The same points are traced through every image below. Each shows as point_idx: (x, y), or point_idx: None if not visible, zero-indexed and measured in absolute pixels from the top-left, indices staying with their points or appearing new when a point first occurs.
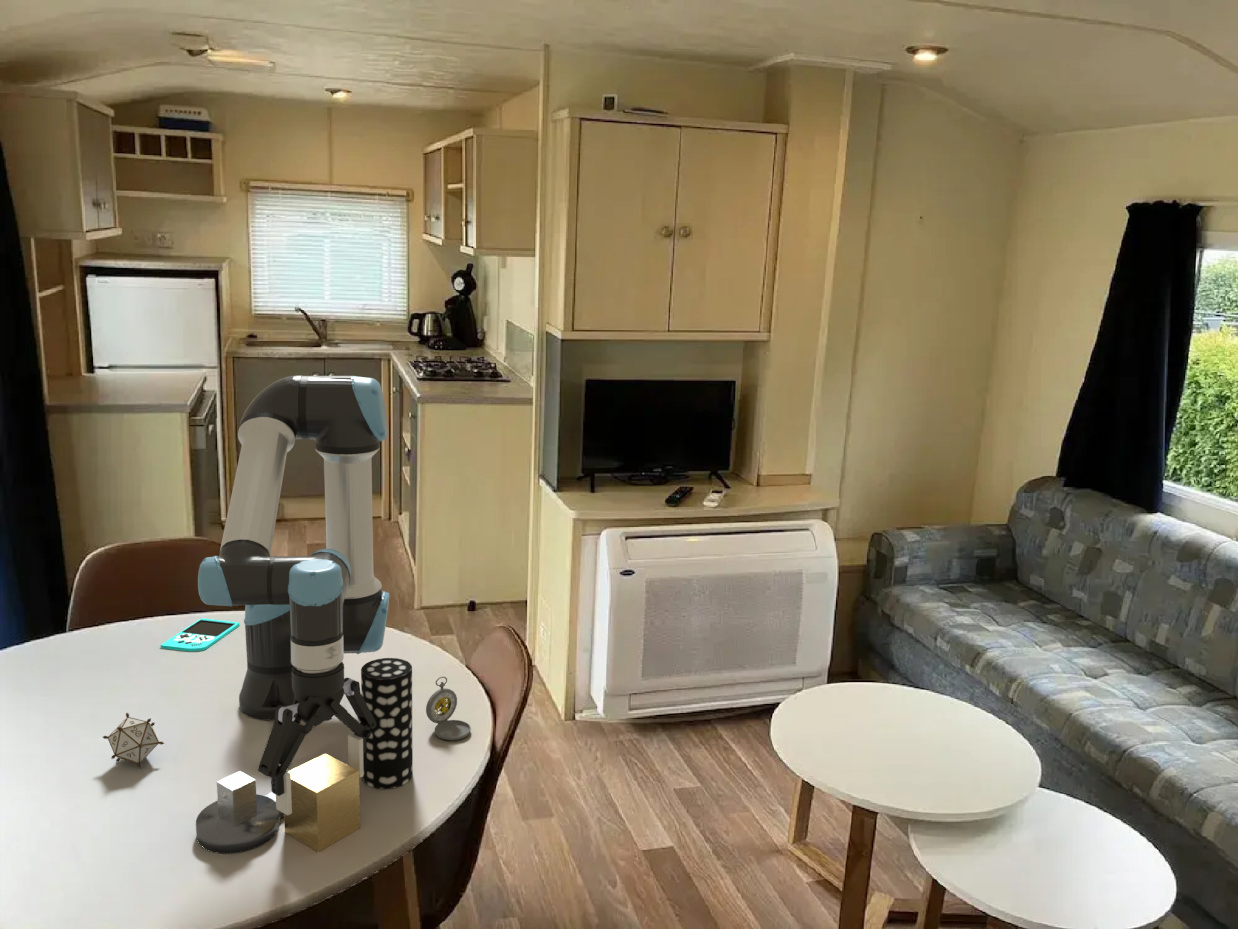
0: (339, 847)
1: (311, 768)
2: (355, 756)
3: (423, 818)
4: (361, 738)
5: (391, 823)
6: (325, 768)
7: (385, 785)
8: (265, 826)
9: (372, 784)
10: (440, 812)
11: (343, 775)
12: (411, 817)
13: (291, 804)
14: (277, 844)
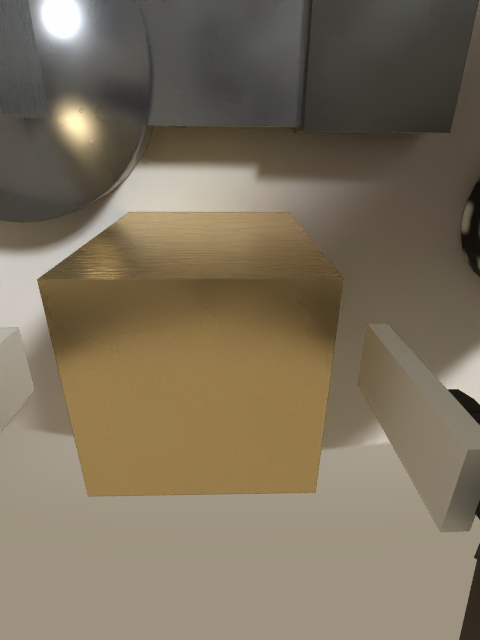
0: None
1: (188, 344)
2: (396, 420)
3: None
4: (466, 527)
5: (340, 389)
6: (234, 393)
7: (477, 270)
8: (40, 214)
9: (467, 229)
10: None
11: (246, 481)
12: None
13: (14, 414)
14: (82, 244)
